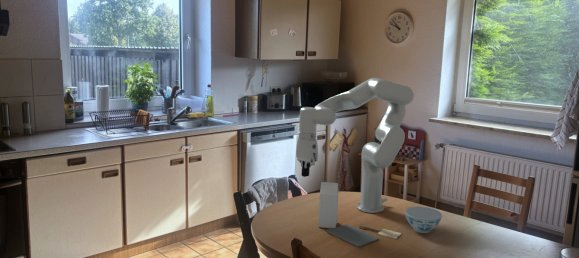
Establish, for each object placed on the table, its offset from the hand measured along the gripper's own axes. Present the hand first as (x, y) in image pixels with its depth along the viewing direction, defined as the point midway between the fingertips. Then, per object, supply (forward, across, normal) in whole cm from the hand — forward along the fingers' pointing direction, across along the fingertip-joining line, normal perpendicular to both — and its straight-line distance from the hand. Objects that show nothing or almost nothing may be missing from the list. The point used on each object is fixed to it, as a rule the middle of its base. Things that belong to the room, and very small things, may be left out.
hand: (305, 175), depth 218 cm
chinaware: (+17, -42, -30) cm, 55 cm away
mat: (+18, -29, -1) cm, 34 cm away
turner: (+18, -33, -13) cm, 40 cm away
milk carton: (+18, -15, -1) cm, 24 cm away
